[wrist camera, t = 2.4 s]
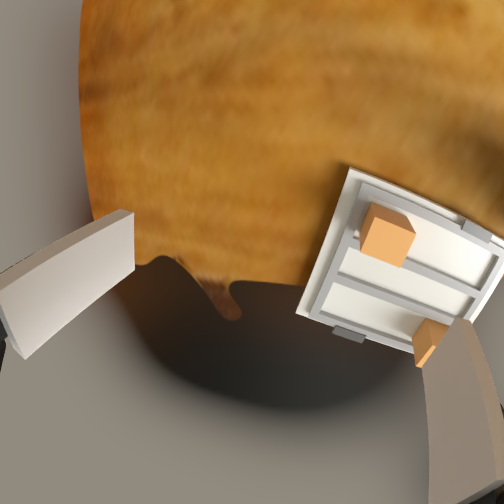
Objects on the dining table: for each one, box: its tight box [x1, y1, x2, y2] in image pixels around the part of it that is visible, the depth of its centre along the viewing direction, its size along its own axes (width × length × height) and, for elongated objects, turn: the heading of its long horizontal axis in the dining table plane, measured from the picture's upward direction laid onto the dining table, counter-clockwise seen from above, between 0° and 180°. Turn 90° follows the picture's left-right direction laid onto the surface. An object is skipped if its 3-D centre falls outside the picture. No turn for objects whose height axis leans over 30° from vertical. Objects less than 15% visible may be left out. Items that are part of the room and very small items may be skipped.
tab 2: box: [412, 318, 450, 368], centre depth 27 cm, size 4×3×5 cm
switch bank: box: [296, 167, 504, 354], centre depth 28 cm, size 22×18×2 cm
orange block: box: [359, 202, 416, 268], centre depth 25 cm, size 4×3×5 cm
